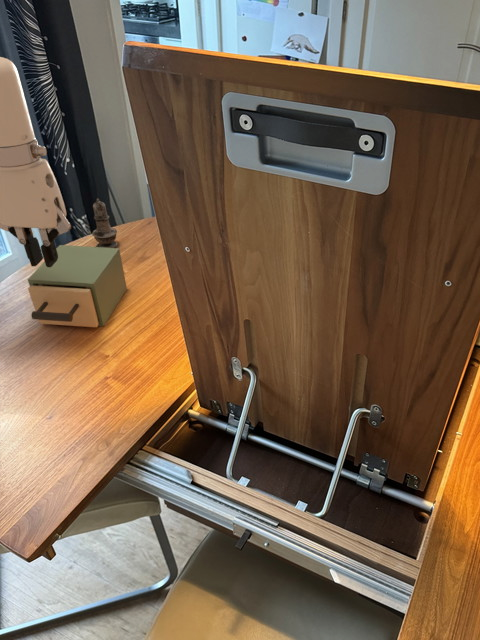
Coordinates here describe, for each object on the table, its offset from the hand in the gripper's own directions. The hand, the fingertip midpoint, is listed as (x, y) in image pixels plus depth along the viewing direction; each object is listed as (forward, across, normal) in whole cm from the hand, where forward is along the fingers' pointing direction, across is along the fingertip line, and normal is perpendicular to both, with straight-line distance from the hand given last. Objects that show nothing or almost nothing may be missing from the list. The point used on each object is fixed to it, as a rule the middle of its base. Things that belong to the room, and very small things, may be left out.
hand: (44, 262), depth 90 cm
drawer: (+14, 0, -6) cm, 15 cm away
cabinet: (+15, 0, -10) cm, 18 cm away
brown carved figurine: (+15, +5, -38) cm, 41 cm away
